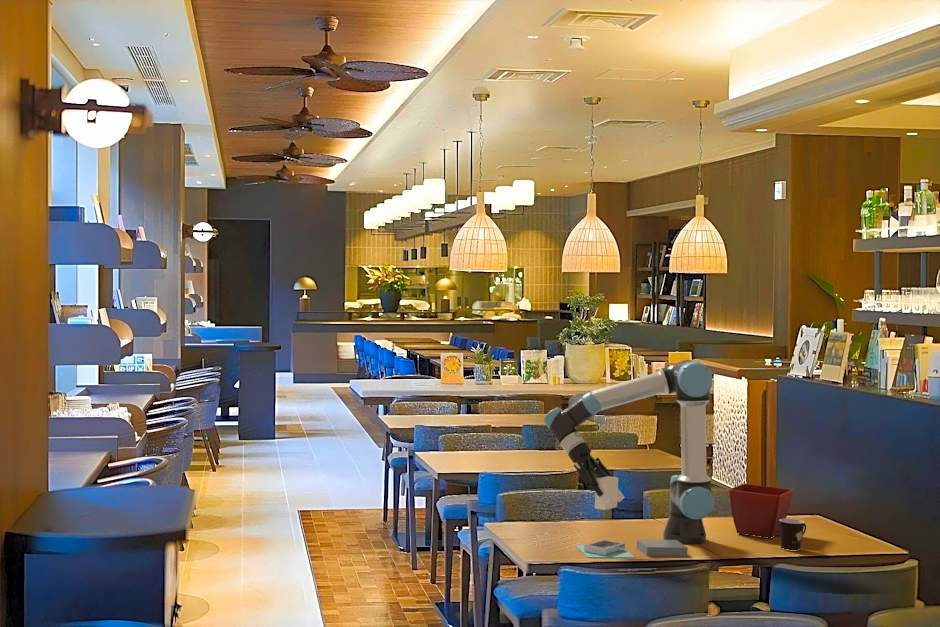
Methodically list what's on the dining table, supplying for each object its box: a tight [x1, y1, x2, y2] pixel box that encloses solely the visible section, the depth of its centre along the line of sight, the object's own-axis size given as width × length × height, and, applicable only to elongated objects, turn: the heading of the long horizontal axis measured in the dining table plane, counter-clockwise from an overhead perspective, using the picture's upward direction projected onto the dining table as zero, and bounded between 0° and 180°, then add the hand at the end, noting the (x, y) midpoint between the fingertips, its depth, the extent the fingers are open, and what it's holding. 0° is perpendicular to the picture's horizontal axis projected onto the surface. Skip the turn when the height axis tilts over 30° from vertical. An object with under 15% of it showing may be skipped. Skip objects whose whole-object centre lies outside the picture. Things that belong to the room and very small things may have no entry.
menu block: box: [594, 476, 619, 511], centre depth 403 cm, size 4×8×10 cm, turn 143°
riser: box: [636, 539, 689, 557], centre depth 406 cm, size 12×14×3 cm
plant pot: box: [728, 483, 794, 538], centre depth 443 cm, size 19×19×17 cm
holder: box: [583, 539, 626, 556], centre depth 403 cm, size 8×12×2 cm
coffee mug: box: [779, 518, 807, 550], centre depth 419 cm, size 12×9×10 cm
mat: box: [574, 544, 636, 559], centre depth 403 cm, size 18×16×1 cm
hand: (615, 501), depth 401 cm, fingers closed on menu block, 8 cm apart
